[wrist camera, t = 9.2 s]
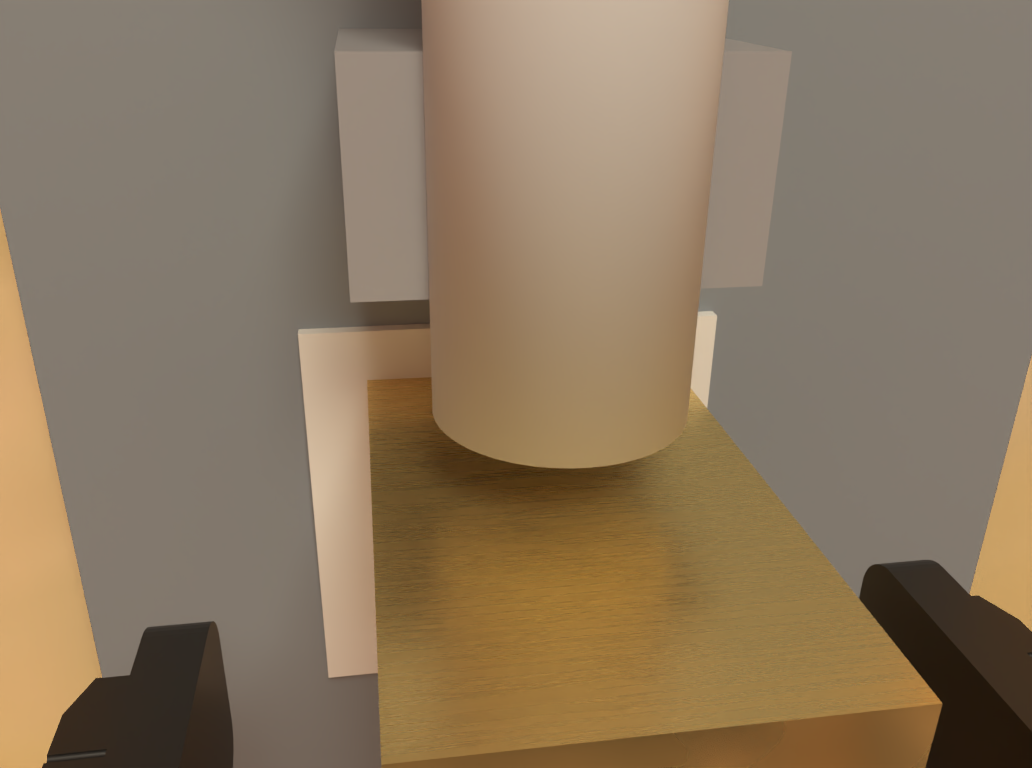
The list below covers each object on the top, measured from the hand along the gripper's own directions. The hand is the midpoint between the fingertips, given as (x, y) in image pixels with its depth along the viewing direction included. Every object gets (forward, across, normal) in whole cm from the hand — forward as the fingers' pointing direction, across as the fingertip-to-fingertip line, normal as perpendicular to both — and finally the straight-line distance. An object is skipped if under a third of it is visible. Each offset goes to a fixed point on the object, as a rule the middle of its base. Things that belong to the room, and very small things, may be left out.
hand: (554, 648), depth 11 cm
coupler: (+3, 0, 0) cm, 3 cm away
